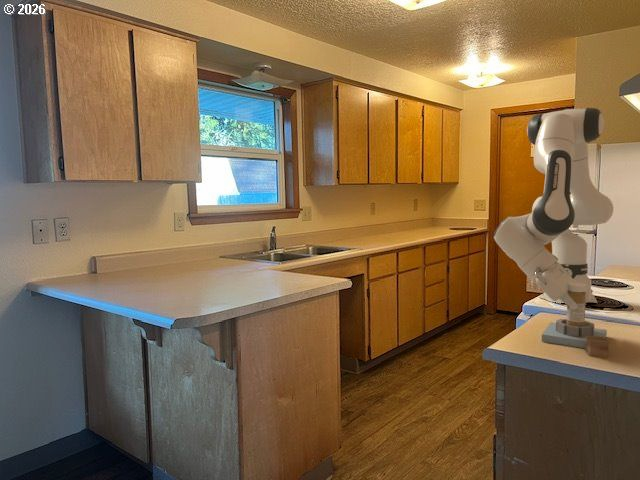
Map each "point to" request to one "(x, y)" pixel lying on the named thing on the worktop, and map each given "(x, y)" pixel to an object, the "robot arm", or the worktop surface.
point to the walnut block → (596, 346)
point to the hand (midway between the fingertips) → (578, 304)
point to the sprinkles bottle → (578, 294)
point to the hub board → (570, 333)
